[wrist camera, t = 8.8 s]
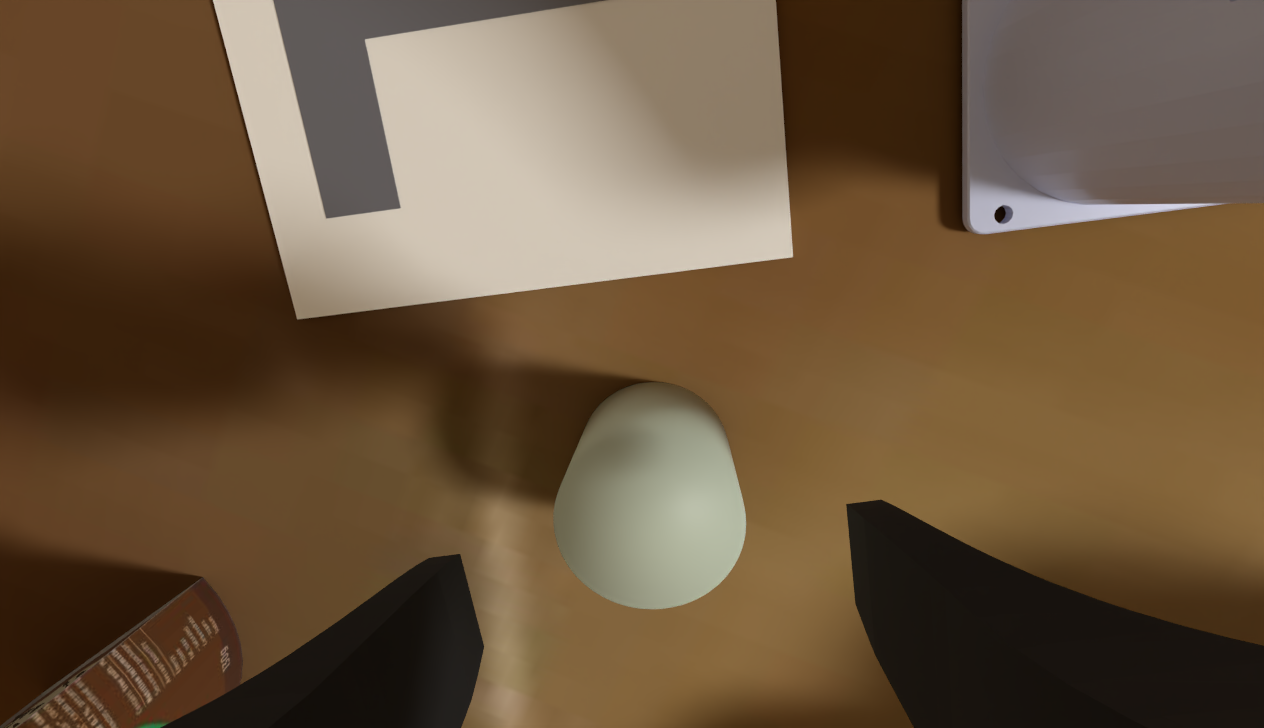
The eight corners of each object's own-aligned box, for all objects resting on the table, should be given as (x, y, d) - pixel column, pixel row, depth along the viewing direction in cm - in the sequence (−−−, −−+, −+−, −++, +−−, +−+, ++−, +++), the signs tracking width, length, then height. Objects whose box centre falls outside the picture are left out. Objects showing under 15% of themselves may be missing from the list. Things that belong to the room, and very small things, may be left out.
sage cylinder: (729, 380, 20) (747, 432, 15) (728, 521, 21) (744, 610, 16) (577, 382, 20) (547, 433, 16) (584, 520, 22) (558, 608, 17)
